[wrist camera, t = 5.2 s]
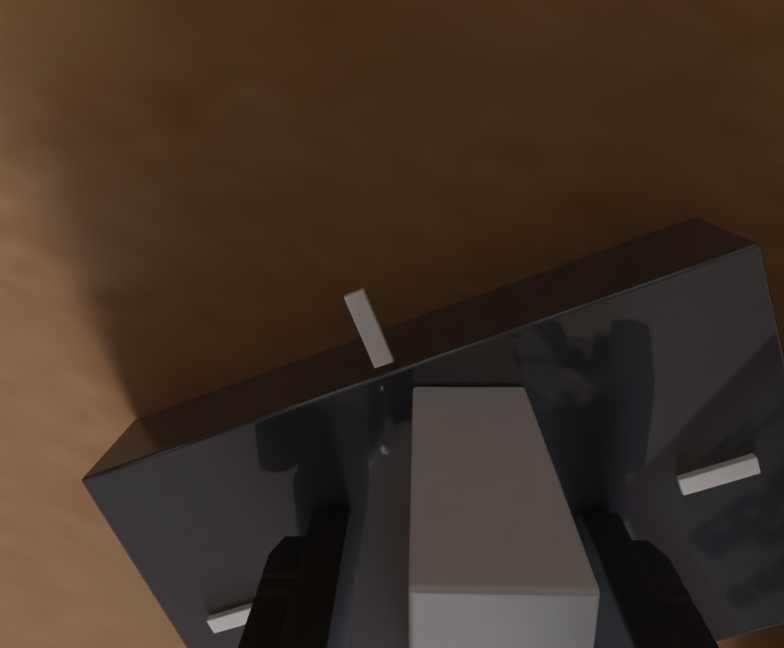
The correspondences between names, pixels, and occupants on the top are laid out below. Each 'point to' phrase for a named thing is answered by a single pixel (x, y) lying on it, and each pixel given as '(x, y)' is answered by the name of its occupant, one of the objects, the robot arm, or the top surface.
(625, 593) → the robot arm
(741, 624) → the rotary selector switch
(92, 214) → the top surface
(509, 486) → the white rectangular block
